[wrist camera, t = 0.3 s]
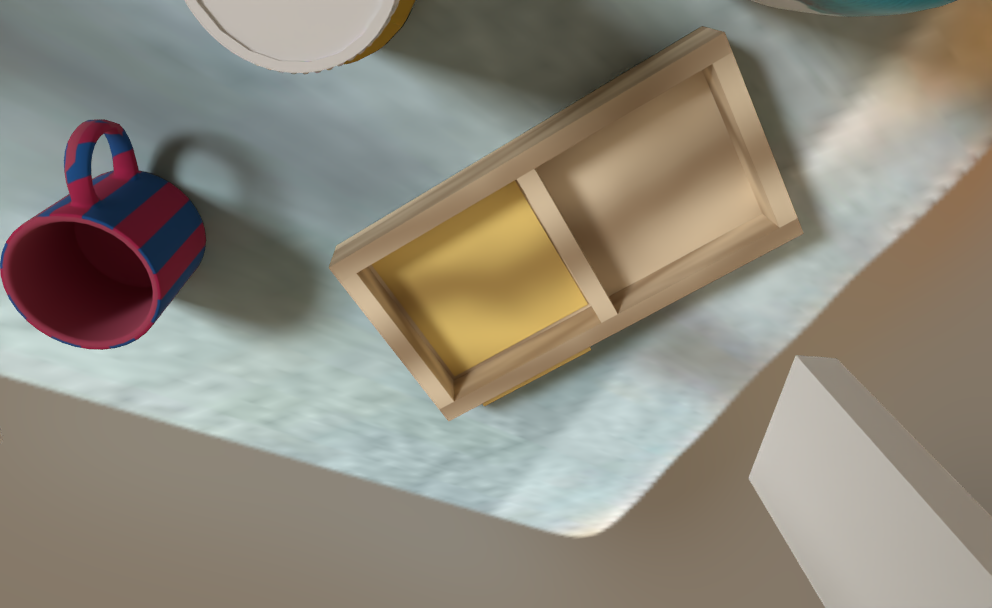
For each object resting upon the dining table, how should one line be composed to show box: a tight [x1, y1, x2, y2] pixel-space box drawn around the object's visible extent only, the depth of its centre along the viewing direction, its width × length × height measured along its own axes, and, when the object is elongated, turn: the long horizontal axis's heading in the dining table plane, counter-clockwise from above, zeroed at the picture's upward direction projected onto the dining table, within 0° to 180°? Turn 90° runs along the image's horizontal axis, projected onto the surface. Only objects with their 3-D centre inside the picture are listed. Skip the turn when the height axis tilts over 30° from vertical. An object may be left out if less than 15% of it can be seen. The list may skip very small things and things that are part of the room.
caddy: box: [329, 26, 804, 421], centre depth 37 cm, size 12×22×3 cm, turn 120°
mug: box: [0, 120, 206, 350], centre depth 33 cm, size 7×10×7 cm
